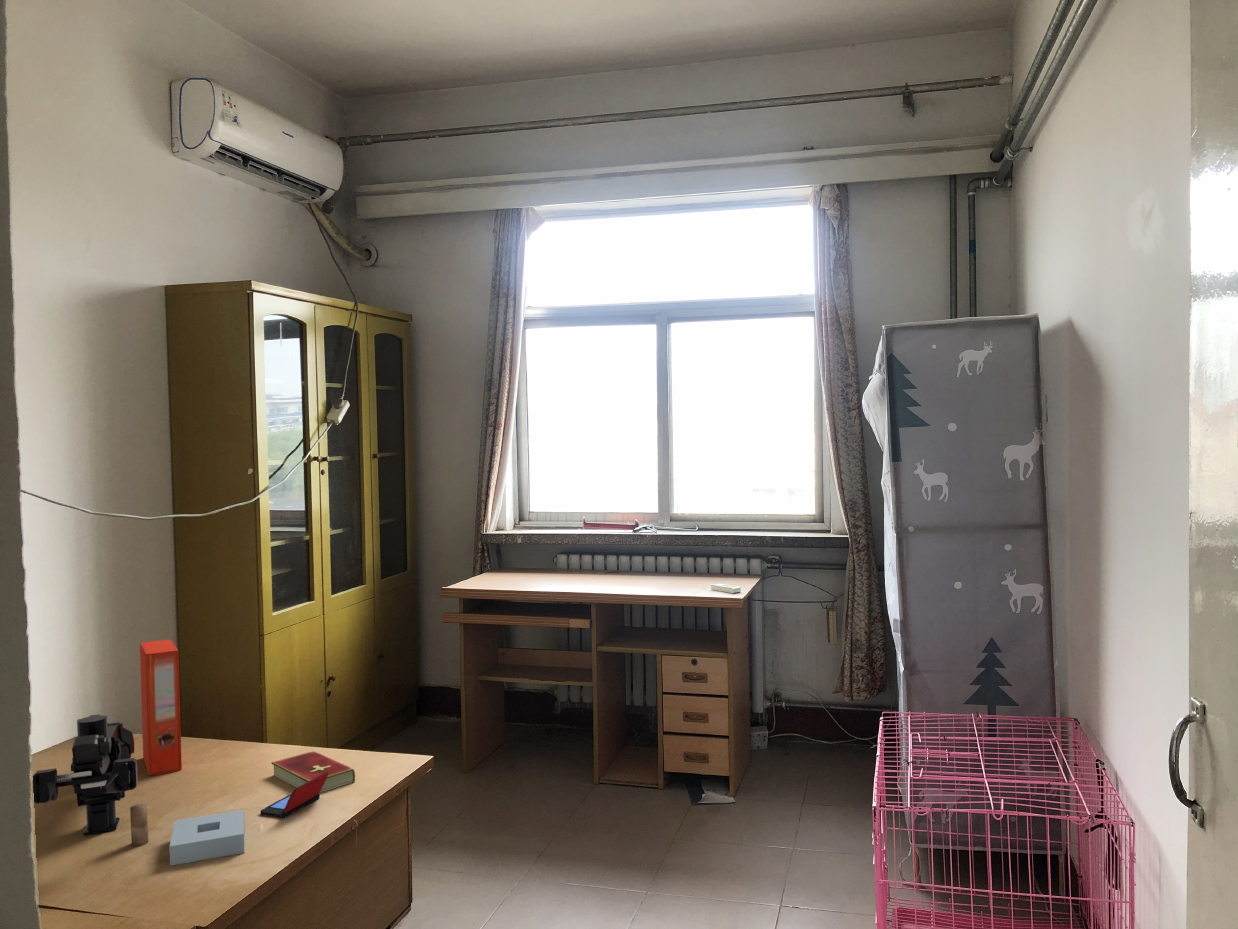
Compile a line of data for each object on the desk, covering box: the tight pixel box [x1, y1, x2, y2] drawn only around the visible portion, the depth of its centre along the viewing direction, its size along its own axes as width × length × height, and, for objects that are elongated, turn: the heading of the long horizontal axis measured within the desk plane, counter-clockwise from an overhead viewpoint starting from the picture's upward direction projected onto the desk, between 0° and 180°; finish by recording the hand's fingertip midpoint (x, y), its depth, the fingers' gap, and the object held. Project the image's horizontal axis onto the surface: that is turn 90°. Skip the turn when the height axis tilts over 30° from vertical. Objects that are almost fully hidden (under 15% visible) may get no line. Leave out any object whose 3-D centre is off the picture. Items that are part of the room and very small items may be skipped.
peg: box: [129, 803, 149, 847], centre depth 198 cm, size 3×3×8 cm
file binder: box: [139, 639, 183, 776], centre depth 248 cm, size 8×17×32 cm, turn 32°
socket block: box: [169, 809, 246, 867], centre depth 196 cm, size 14×14×4 cm
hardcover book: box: [271, 750, 356, 793], centre depth 234 cm, size 12×21×4 cm, turn 46°
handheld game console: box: [259, 772, 329, 819], centre depth 215 cm, size 12×11×7 cm
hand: (79, 794), depth 183 cm, fingers open, 9 cm apart
